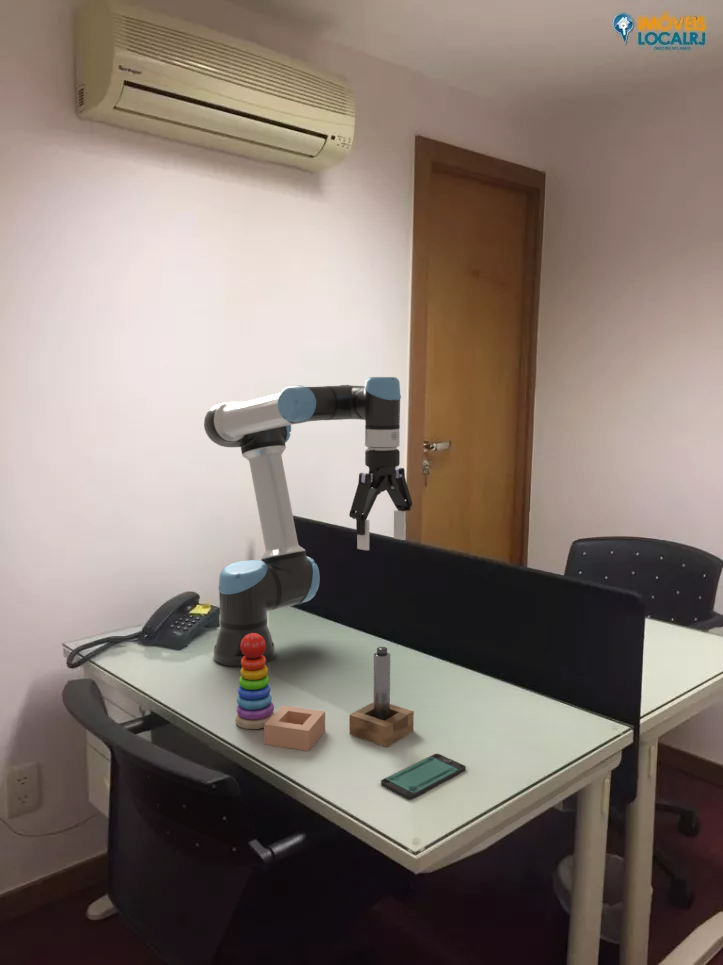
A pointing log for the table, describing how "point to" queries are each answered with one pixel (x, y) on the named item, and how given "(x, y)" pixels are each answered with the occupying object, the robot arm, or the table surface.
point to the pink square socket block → (294, 728)
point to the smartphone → (422, 776)
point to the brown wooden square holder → (381, 725)
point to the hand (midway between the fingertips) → (382, 544)
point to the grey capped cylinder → (382, 684)
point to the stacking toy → (253, 685)
